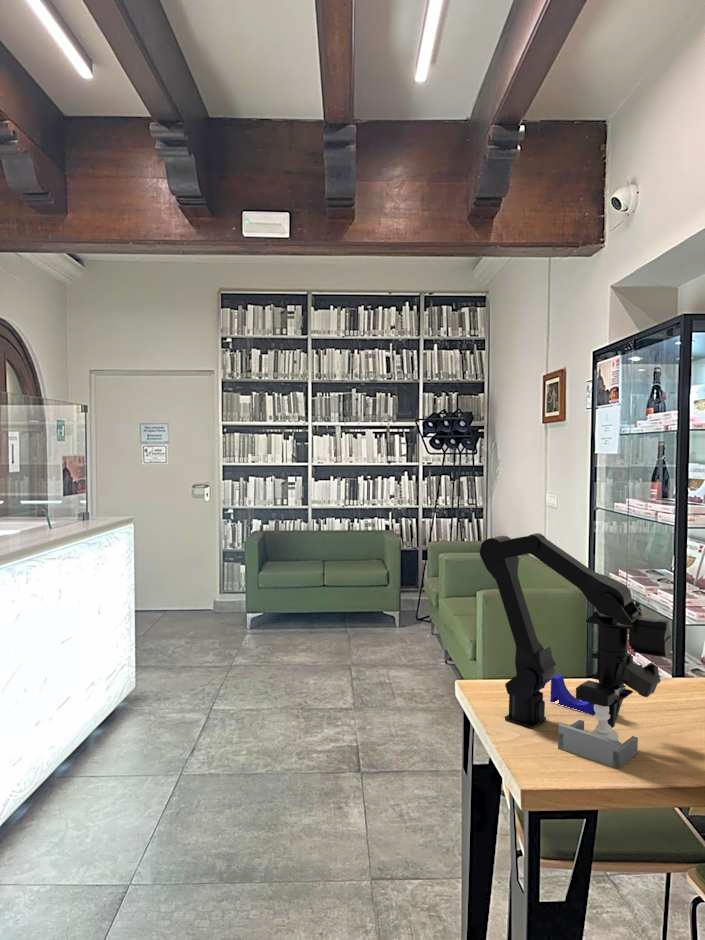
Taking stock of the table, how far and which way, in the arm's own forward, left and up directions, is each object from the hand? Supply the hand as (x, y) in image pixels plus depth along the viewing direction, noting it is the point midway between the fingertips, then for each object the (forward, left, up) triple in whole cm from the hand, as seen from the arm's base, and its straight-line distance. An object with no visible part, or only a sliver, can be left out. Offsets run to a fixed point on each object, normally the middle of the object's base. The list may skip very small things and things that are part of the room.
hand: (610, 727), depth 132 cm
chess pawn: (0, -2, -3) cm, 3 cm away
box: (0, -5, -3) cm, 6 cm away
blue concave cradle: (-12, +13, -4) cm, 18 cm away
